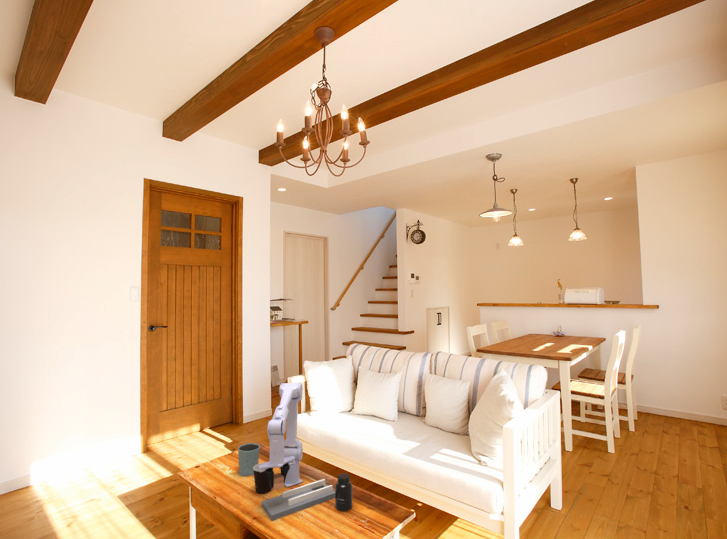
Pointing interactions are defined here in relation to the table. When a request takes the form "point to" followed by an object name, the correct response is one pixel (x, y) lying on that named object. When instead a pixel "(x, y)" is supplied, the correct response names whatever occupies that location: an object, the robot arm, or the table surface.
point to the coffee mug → (261, 481)
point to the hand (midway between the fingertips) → (277, 485)
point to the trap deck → (280, 506)
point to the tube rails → (307, 495)
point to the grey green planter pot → (248, 458)
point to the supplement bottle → (343, 493)
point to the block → (278, 481)
